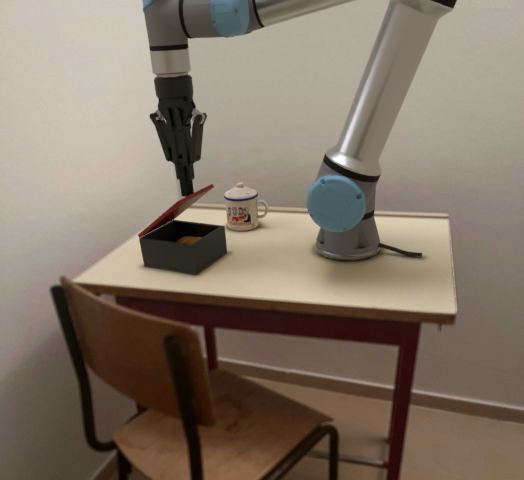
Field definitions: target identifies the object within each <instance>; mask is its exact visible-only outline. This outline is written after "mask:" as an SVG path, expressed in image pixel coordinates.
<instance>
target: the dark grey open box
mask: <svg viewBox="0 0 524 480" xmlns="http://www.w3.org/2000/svg"><path fill="white" fill-rule="evenodd" d="M226 235H227V234H226V226H225V225H220V224H211V223H204V222H195V221H187V220H179V219H174V220H172V221H170V222H168V223H166V224H165V225H163V226H161V227H159V228H157V229H155V230H154V231H152V232H150V233H148V234H146V235H144V236H142V237H141V238H139V237H138V240H139V245H140V251H141V257H142V261H143V266H144V267H146V268H151V269H152V268H153V269H158V270H165V271H170V272H175V273H181V274H188V275H193V276H198V275H200V273H202V272H203V271H204V270H206V269H207V268H209V267H210V266H212V265H213V264H214V263H215V262H217V261H218V260H221V258H223V257H224V256H225V255H227V254H228V248H227V237H226ZM186 236H191V237H203V238H201V239H199V240H198V241H196V242H195V243H193V244H185V243H178V242H177V241H178V240H179V239H180V238H182V237H186Z"/></svg>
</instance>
